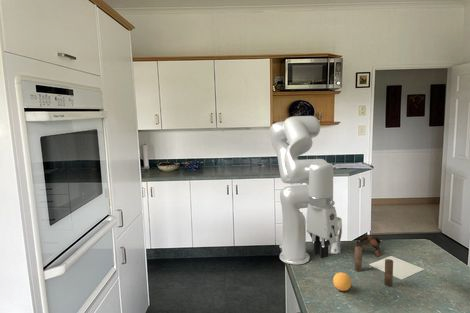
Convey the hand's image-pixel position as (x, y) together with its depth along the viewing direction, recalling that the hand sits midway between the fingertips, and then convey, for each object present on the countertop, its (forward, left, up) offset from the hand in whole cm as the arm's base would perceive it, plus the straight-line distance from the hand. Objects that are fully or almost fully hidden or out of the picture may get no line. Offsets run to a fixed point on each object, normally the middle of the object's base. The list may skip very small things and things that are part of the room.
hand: (320, 255), depth 105 cm
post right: (+7, +26, -15) cm, 31 cm away
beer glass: (-24, +31, -15) cm, 42 cm away
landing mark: (0, +40, -15) cm, 43 cm away
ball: (0, +10, -12) cm, 16 cm away
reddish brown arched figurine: (-15, +44, -16) cm, 49 cm away
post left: (-6, +26, -15) cm, 31 cm away
